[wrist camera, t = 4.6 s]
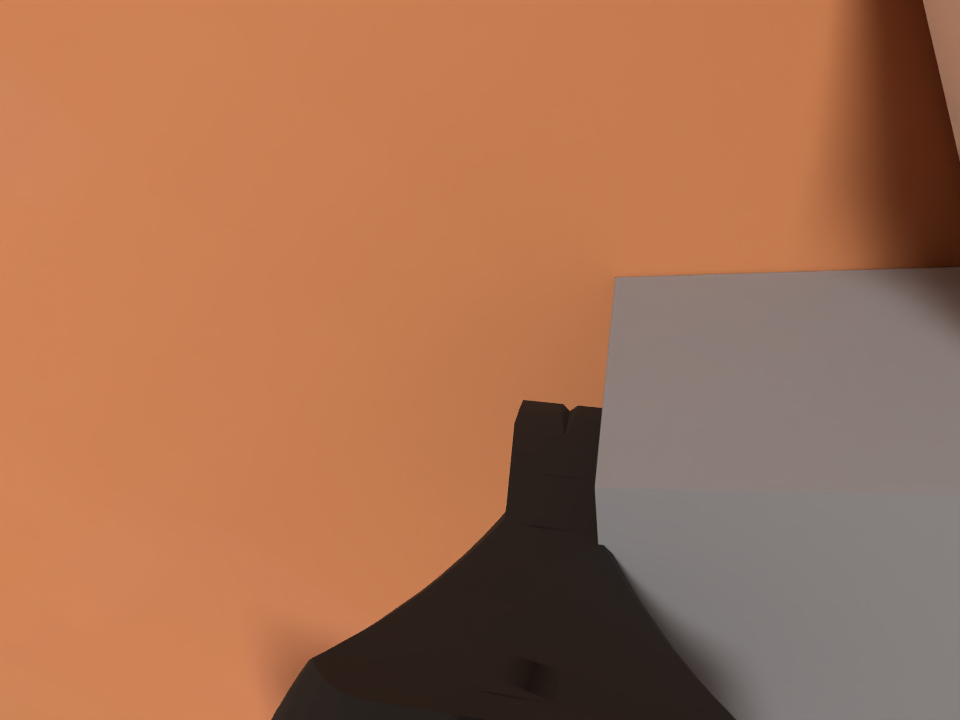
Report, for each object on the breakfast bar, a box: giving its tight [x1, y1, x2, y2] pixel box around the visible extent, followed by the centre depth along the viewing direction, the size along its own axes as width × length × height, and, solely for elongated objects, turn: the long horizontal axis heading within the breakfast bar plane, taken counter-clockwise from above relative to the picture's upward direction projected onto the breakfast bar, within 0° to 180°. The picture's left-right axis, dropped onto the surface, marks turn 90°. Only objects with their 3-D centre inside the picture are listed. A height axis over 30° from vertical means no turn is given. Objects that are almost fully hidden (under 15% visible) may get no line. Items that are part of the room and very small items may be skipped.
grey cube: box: [595, 267, 960, 720], centre depth 11 cm, size 5×5×5 cm
